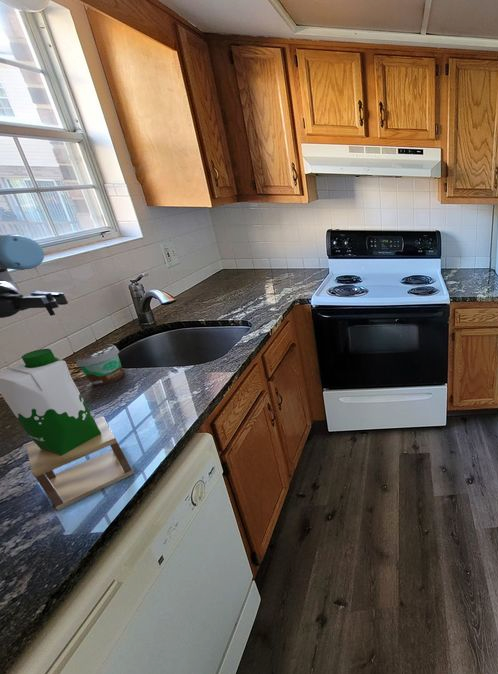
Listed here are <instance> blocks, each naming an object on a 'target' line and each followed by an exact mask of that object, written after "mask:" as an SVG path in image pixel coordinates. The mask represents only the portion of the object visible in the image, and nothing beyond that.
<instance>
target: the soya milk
mask: <svg viewBox="0 0 498 674" xmlns="http://www.w3.org/2000/svg"><path fill="white" fill-rule="evenodd" d="M21 360H22V362H21V363H18V364H15V365H11V366H8V367H6V369H2V370H0V395H1V396H2V398H3V400H4V401H5V402H6V404H7V406H8V407H9V408H10V410H11V411H12V413H13V415H14V416H15V418H16V419H17V420H18V422H19V424H20V426H22V428H23V430H24V431H25V433H26V434H27V436H28V437H29V438H30V439H31V440H32V441H33V442H35V443H36V444H37V445H38V447H39V448H40V449H43V450H46V451H49V452H52V453H55V454H58V455H61V456H62V455H64V454H65V453H67V452H69V451H71V450H73V449H74V448H76V447H78V446H80V445H81V444H83V443H85V442H87V441H89V440H90V439H92V438H94V437H96V436H98V435H99V434H101V432H100V430H99V428H98V426H97V424H96V422H95V420H94V419H95V418H94V416H93V415H92V413H91V411H90V409H89V407H88V406H87V404H86V401H85V400H84V398H83V396H82V395H81V393H80V391H79V389H78V387H77V385H76V383H75V382H74V380H73V378H72V376H71V373H70V370H69V367H68V364H67V362H66V361H65V360H62V359H59V358H58V357H56V356H55V354H54V353H53V351H52V350H51V348H42V349H41V348H40V349H36V350H32V351H29V352H27V353H24V354H23V355H22V356H21Z"/></svg>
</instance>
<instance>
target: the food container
mask: <svg viewBox="0 0 498 674" xmlns="http://www.w3.org/2000/svg"><path fill="white" fill-rule="evenodd" d="M119 353H120V350H119V349H118V347H117V346H116V345H114V344H113V343H106V347H105V348H103V349H101V350H98V351H94V352H93V353H91V354H89V355H88V356H87V357H85V358H83V359H76V360H75V364H76V368H80V370H82V372H83V374H84V375H85V377H86V378H87V379H88V381H89V382H90V384H91V385H92V387H98V386H104V385H108V384H110V383H113V382H115V381H118V380H120V379H122V378H123V377H124V375H125V372H124V369H123V366H122V362H121V360H120V358H119Z"/></svg>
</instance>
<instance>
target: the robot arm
mask: <svg viewBox="0 0 498 674" xmlns="http://www.w3.org/2000/svg"><path fill="white" fill-rule="evenodd" d="M44 259H45V253H44V249H43V247H42V246H41V245H40V244H39V242H37V241H36V240H34V239H32V238H30V237H27V236H24V235H18V234H0V319H3V318H9V317H12V316H15V315H16V314H18V313H19V312H20V311H21V312H22V311H26V310H29V309H46V311H47V312H48V314H49V316H51V317H52V316H55V315H56V313H55V311H54V309H57V308H59V307H60V306H66V305H68V304H69V302H68V300H67V297H66V296H65V294H64V292H53V291H52V292H51V291H40V290H32V291H31V292H29V295H23V294H21V292H20V288H19V287H18V285H17V283H16V282H15V281H14V279H13V277H12V275H11V273H10V271H9V270H16V271H25V270H31V269H35V268H38V267H39V266H40V265H42V263H43V261H44ZM59 305H60V306H59Z"/></svg>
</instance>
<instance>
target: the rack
mask: <svg viewBox="0 0 498 674" xmlns="http://www.w3.org/2000/svg"><path fill="white" fill-rule="evenodd" d="M94 420H95V422H96V424H97V426H98V428H99V430H100V432H101V434H99V435H98V436H96V437H94V438H92V439H90V440H89V441H87V442H85V443H83V444H81V445H80V446H78V447H76V448H74V449H73V450H71V451H69V452H67V453H65V454H64V455H62V456H61V455H58V454H55V453H52V452H49V451H46V450H43V449H40V448H39V447H38V445H37V444H36V443H35V442H34V441H33V442H31V443H28V444H25V448H26V452H27V456H28V457H27V458H28V462H29V467H30V470H31V474H32V476H33V477H34V478H35V479H36V481H37V482H38V483H39V485H40V486H41V488H42V490H43V491H44V492H45V494H46V495H47V496H48V498H49V499H50V501H51V503H52V504H53V505H54V507H55V509H56V511H60V510H62V509H64V508H66V507H68V506H70V505H72V504H75V503H76V502H79V501H80V500H82V499H85V498H87V497H89V496H91V495H93V494H95V493H97V492H99V491H101V490H103V489H105V488H108V487H109V486H111V485H113V484H115V483H118V482H119V481H121V480H123V479H126V478H128V477H130V476H132V475H134V473H135V472H134V470H133V468H132V467H131V464H130V463H129V462H128V460H127V458H126V456H125V454H124V452H123V450H122V448H121V447H120V445H119V443H118V440H117V438H116V436H115V435H114V433H113V431H112V429H111V428H110V425H109V424H108V422H107V421H106V419H105V417H104V416H103V415H101V416H100V417H97V418H94ZM109 446H110V448H111V449H110V450H108V451H105V452H103V453H101V454H99V455H96V456H94V457H92V458H90V459H87V460H85V461H83V462H81V463H78V464H76V465H74V466H71V467H68V468H67V469H64V470H62V471H60V472H57V473H55V471H54V470H56V469H58V468H60V467H63V466H65V465H68V464H70V463H73V462H75V461H77V460H79V459H82V458H84V457H86V456H90V455H91V454H93V453H95V452H98V451H101V450H103V449H105V448H108V447H109Z"/></svg>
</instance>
